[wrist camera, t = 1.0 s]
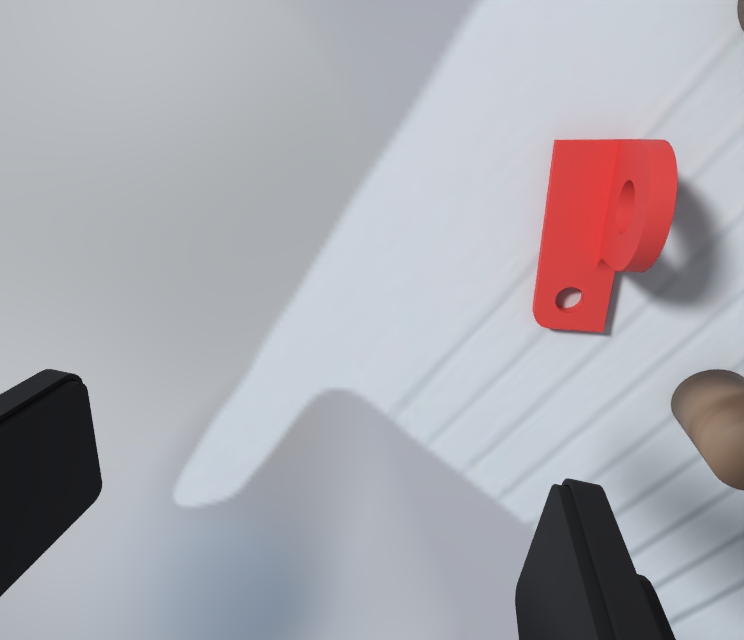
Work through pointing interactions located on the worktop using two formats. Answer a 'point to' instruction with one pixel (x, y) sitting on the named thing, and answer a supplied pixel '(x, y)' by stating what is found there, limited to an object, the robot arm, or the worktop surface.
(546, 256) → the bracket
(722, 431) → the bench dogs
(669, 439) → the worktop surface
